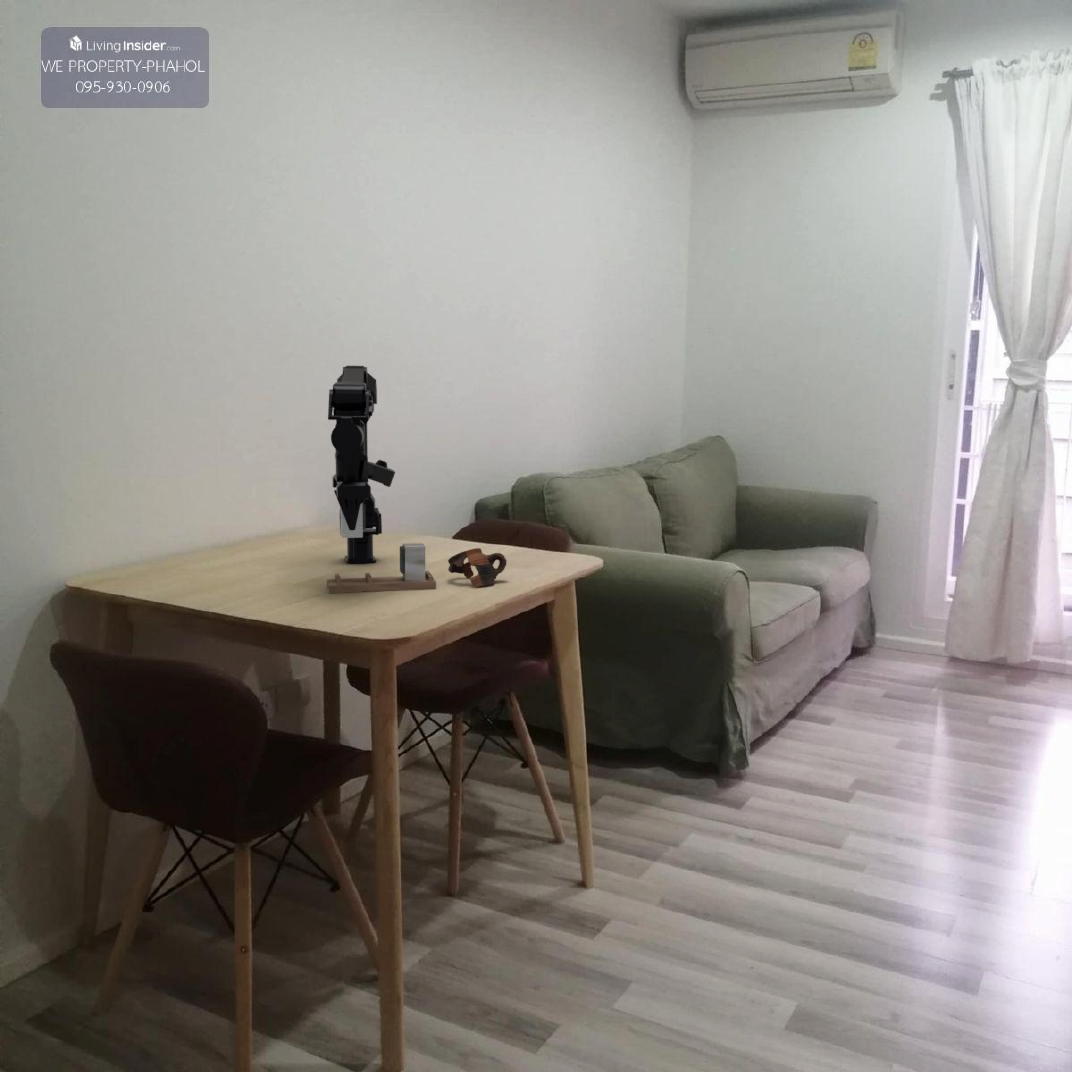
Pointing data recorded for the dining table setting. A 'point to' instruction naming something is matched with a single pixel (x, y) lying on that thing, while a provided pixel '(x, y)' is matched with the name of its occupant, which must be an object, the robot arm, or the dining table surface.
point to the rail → (411, 579)
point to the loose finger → (359, 525)
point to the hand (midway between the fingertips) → (351, 528)
